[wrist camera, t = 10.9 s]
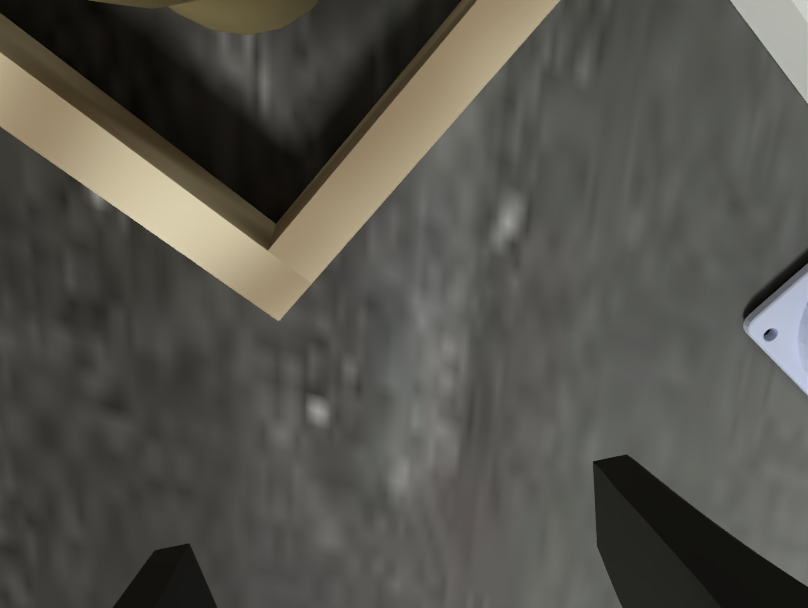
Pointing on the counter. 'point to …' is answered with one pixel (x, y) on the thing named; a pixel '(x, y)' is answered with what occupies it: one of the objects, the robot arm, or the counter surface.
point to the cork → (232, 12)
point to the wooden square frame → (216, 203)
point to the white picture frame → (781, 34)
